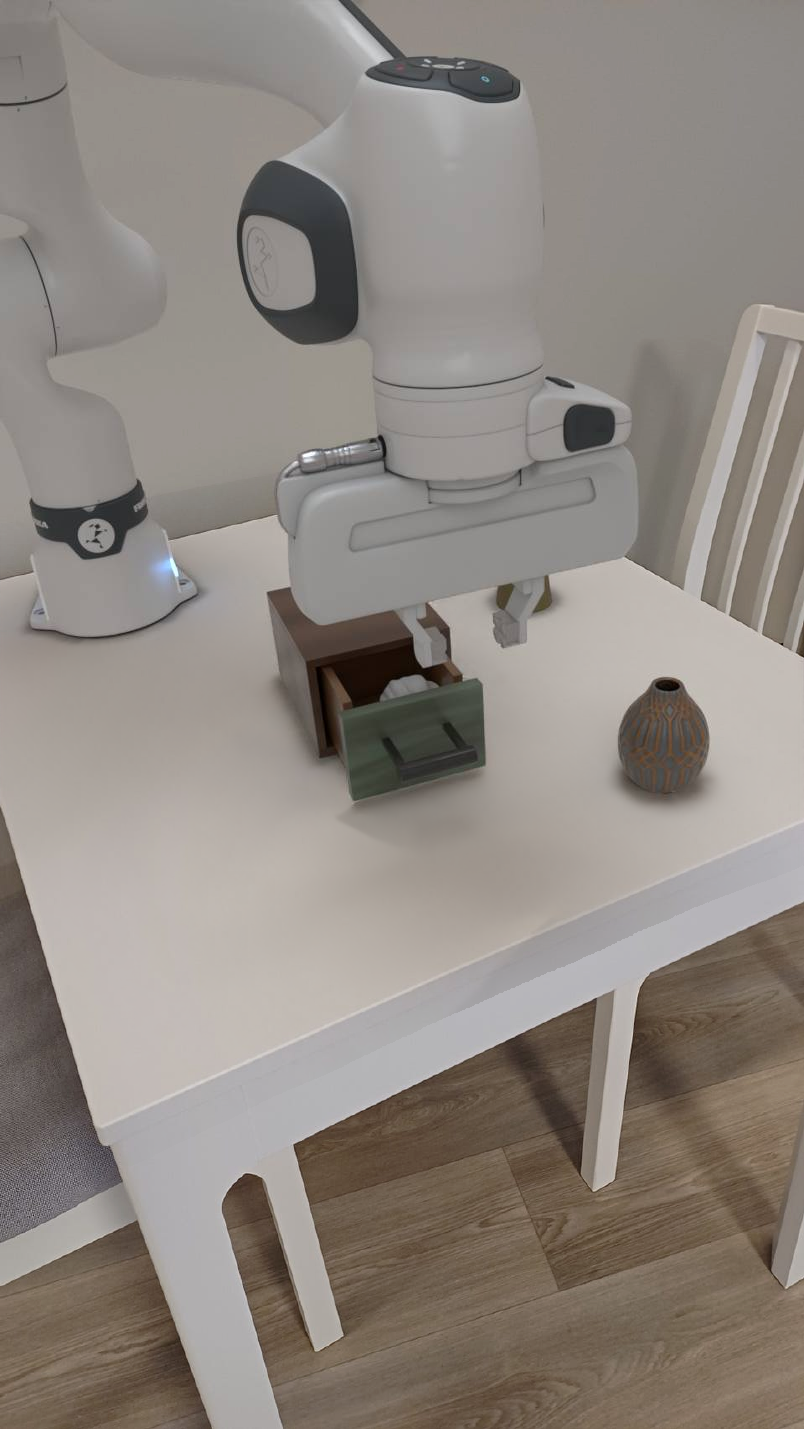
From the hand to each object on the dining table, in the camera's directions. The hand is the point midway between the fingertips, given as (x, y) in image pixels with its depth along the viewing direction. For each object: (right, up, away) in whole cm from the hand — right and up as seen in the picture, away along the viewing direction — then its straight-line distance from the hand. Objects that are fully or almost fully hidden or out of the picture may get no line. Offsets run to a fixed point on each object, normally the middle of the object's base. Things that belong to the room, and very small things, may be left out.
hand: (471, 651), depth 60 cm
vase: (+16, -9, +20) cm, 27 cm away
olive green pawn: (+9, +8, +48) cm, 50 cm away
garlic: (-3, -4, +21) cm, 21 cm away
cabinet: (-8, -3, +33) cm, 34 cm away
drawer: (-4, -7, +23) cm, 25 cm away
